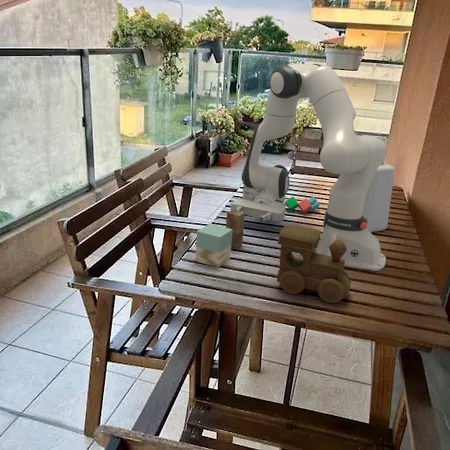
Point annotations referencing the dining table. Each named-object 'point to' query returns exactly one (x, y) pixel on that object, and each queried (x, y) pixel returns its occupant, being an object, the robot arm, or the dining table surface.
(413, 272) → the dining table surface
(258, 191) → the ink box
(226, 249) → the lower block
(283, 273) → the wooden toy train
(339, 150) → the robot arm
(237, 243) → the walnut post
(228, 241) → the upper block
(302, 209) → the building blocks
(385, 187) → the plastic bottle
